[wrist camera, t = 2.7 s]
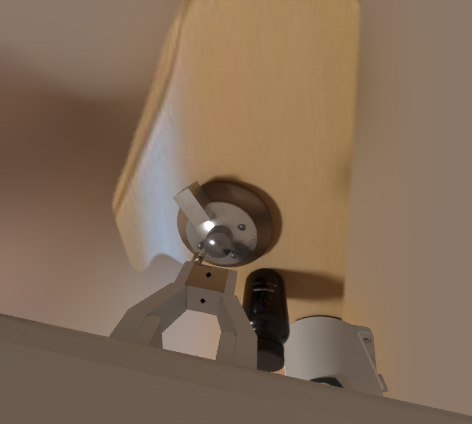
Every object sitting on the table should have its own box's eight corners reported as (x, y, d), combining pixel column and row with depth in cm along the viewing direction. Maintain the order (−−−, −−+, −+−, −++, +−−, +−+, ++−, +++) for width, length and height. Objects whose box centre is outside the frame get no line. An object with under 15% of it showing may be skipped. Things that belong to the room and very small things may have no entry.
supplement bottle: (268, 261, 30) (271, 338, 19) (292, 286, 31) (307, 370, 21) (237, 278, 32) (224, 354, 22) (260, 300, 34) (259, 381, 23)
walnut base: (287, 242, 28) (292, 268, 23) (213, 271, 32) (204, 297, 27) (241, 161, 23) (235, 172, 18) (163, 207, 28) (142, 225, 23)
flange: (269, 245, 26) (270, 262, 23) (213, 267, 29) (207, 284, 26) (221, 166, 22) (213, 173, 19) (162, 201, 25) (147, 213, 22)
